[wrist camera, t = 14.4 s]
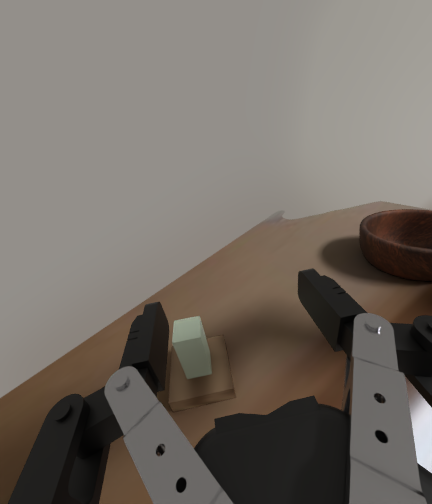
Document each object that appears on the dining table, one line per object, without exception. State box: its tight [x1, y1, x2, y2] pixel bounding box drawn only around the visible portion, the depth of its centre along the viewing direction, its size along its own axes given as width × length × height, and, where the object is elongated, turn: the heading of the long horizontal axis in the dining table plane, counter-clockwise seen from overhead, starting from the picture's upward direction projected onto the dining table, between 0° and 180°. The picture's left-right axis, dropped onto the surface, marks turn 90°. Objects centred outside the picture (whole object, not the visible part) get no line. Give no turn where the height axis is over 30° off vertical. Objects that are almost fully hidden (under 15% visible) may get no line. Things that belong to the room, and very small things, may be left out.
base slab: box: [169, 335, 236, 412], centre depth 41 cm, size 11×11×3 cm
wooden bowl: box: [360, 209, 432, 281], centre depth 58 cm, size 25×25×10 cm
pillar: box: [172, 316, 212, 379], centre depth 38 cm, size 4×4×10 cm
